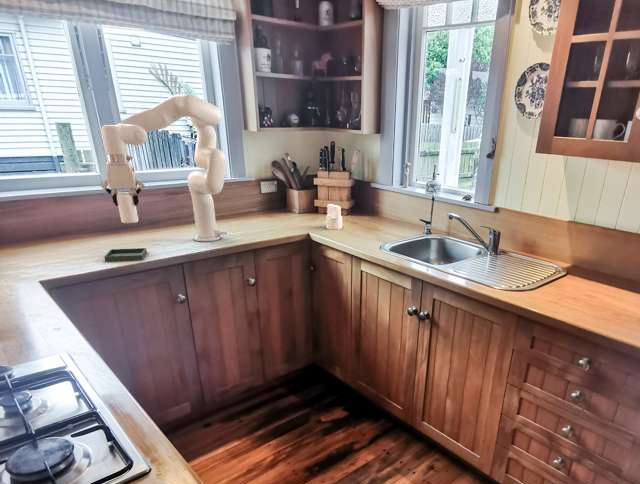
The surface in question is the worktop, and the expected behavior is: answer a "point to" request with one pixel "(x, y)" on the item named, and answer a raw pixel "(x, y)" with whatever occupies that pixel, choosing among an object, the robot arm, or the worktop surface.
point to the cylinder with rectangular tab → (333, 217)
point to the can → (127, 207)
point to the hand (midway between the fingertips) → (126, 204)
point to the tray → (125, 254)
